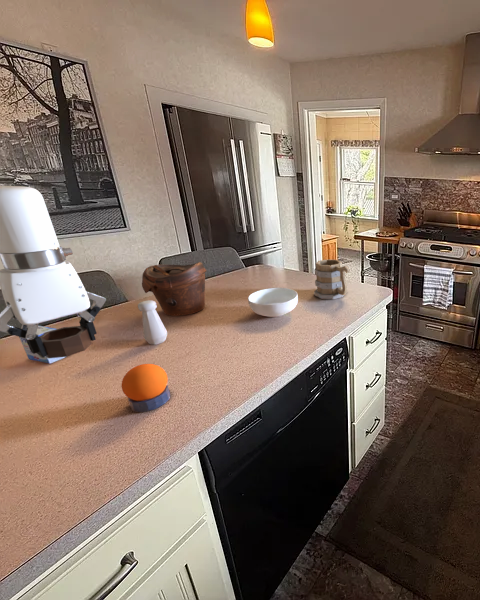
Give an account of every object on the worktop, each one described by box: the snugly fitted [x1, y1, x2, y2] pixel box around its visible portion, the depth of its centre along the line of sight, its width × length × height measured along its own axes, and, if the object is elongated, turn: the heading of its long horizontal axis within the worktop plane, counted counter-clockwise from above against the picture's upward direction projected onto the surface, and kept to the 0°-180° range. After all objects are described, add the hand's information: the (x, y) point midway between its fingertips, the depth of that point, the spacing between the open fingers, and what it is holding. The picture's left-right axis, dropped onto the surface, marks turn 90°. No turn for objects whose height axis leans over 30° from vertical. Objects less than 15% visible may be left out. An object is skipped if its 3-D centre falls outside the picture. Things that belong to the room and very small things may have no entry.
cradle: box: [127, 384, 171, 413], centre depth 73 cm, size 7×7×2 cm
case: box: [141, 261, 207, 317], centre depth 117 cm, size 18×20×18 cm
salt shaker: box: [137, 299, 168, 346], centre depth 96 cm, size 6×6×13 cm
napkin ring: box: [39, 325, 93, 358], centre depth 64 cm, size 7×7×4 cm
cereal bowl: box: [247, 287, 299, 318], centre depth 119 cm, size 17×17×7 cm
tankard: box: [313, 259, 351, 300], centre depth 135 cm, size 20×13×15 cm, turn 42°
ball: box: [121, 363, 169, 401], centre depth 72 cm, size 8×8×8 cm
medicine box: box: [18, 325, 66, 364], centre depth 87 cm, size 8×4×9 cm, turn 76°
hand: (67, 345), depth 65 cm, fingers closed on napkin ring, 6 cm apart
